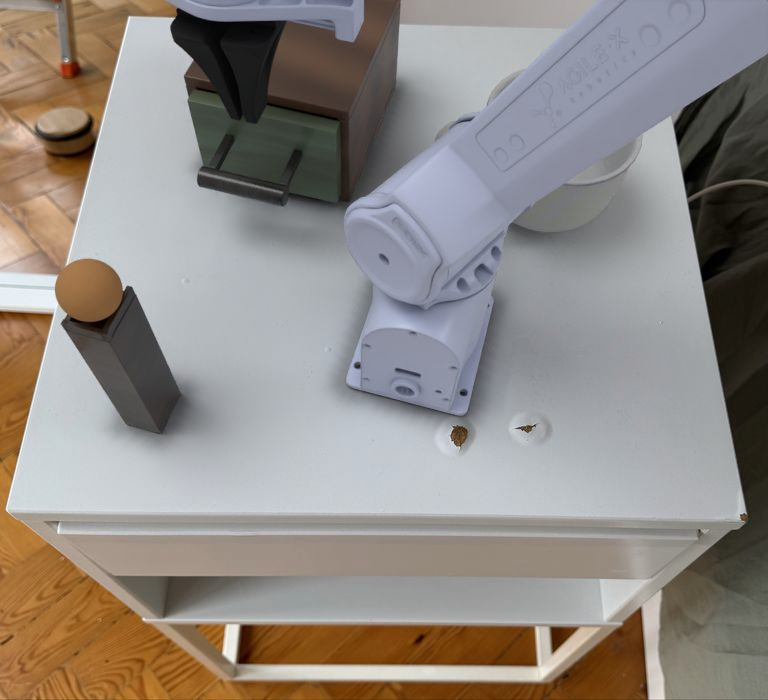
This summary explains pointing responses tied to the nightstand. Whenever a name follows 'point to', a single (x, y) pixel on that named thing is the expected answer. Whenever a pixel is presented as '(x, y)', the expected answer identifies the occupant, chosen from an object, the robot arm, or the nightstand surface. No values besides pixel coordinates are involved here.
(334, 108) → the cabinet
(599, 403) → the nightstand surface
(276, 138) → the drawer
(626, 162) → the teacup
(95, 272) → the ball
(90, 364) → the stand
